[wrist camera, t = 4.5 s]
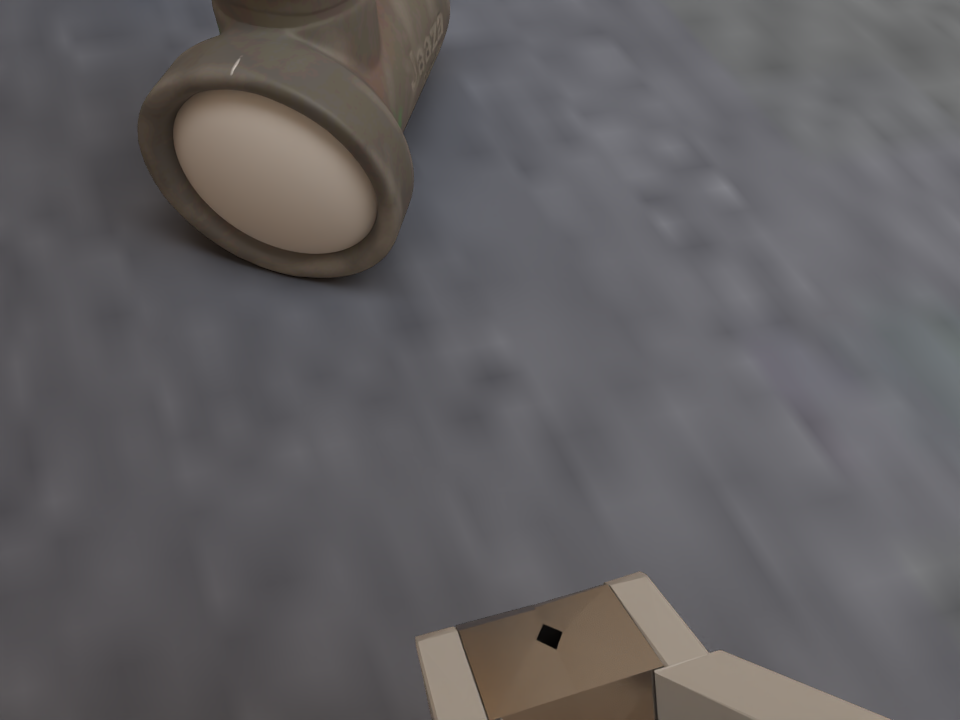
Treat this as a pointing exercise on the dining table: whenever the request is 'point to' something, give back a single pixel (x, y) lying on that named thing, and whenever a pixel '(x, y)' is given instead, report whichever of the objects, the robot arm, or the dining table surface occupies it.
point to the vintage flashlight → (295, 129)
